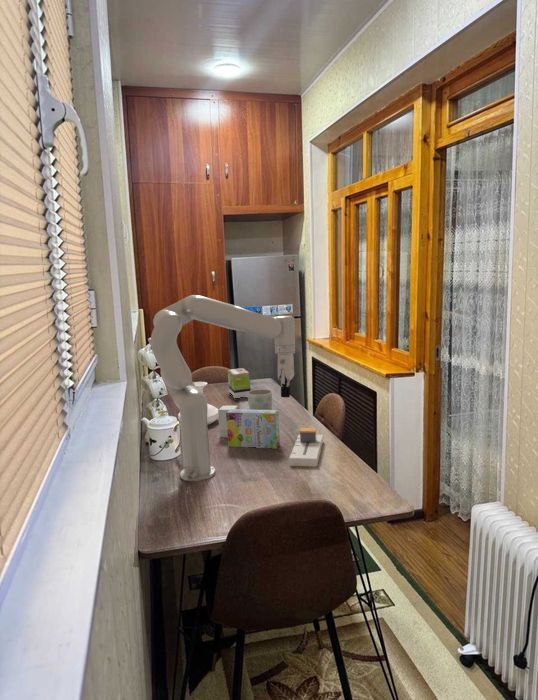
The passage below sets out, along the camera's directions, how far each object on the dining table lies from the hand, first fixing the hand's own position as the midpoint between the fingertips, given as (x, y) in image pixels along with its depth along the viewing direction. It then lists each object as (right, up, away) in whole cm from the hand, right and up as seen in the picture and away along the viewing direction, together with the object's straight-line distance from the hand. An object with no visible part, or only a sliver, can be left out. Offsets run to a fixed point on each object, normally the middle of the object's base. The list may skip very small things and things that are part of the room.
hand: (285, 396), depth 187 cm
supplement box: (-24, -20, +33) cm, 45 cm away
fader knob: (+10, -18, +10) cm, 23 cm away
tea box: (-23, -9, +102) cm, 105 cm away
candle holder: (-40, -18, +53) cm, 69 cm away
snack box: (-12, -22, +17) cm, 31 cm away
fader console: (+9, -23, +6) cm, 25 cm away
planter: (-10, -14, +64) cm, 67 cm away
